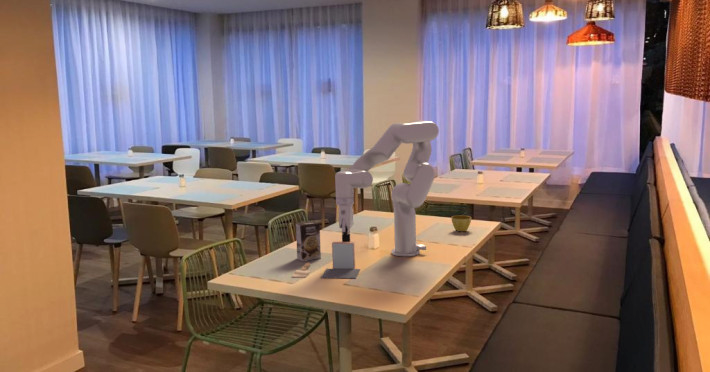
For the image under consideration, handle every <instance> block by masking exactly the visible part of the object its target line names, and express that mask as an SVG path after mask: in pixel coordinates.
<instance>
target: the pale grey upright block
mask: <svg viewBox="0 0 710 372" xmlns="http://www.w3.org/2000/svg"><path fill="white" fill-rule="evenodd" d="M355 248H356V246H355V241H350V242H342V241H332V242H331V249H332V250H331V251H332V253H331V255H332V269H356V253H355V252H356V251H355V250H356V249H355Z"/></svg>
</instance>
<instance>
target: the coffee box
mask: <svg viewBox="0 0 710 372" xmlns="http://www.w3.org/2000/svg"><path fill="white" fill-rule="evenodd" d="M320 227H321V226H320V222H318V221H315V220H312V221H303V222H295V231H296V233H295V234H296V237H295V238H296V258H297V260H300V261H301V262H307V261H314V260H320V259H321V258H322V253H321V228H320ZM313 259H314V260H313Z"/></svg>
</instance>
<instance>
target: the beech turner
mask: <svg viewBox="0 0 710 372" xmlns="http://www.w3.org/2000/svg"><path fill="white" fill-rule="evenodd" d="M310 266H311V263H310V262H305V264H304V265H303V266H302V268H301V269H296V270H295V271H294V272H293V274H292V275H291V278H297V279H298V278H301V279H303V278H304V279H305V278H306V279H307V277H308V276H309V274H310V273H311V270H310V269H309V268H310ZM308 269H309V270H308Z"/></svg>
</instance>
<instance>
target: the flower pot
mask: <svg viewBox="0 0 710 372" xmlns="http://www.w3.org/2000/svg"><path fill="white" fill-rule="evenodd" d="M451 222H452V226H453V228H454V230H455V231H456V230H457V231H466V230H467V231H468V229H469V228H470V225H471V223H472V217H471V216H469V215H464V214H463V215H461V214H460V215H453V216H451ZM457 231H456V232H457ZM467 231H466V232H467Z"/></svg>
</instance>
